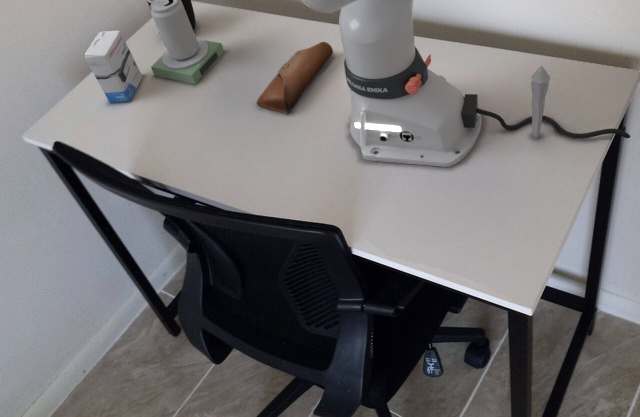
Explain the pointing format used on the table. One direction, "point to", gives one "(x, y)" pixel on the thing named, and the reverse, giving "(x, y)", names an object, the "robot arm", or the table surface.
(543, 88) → the pen
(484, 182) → the table surface
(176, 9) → the beverage can
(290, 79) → the sunglasses case
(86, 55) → the ink box
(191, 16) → the mug
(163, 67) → the scale
